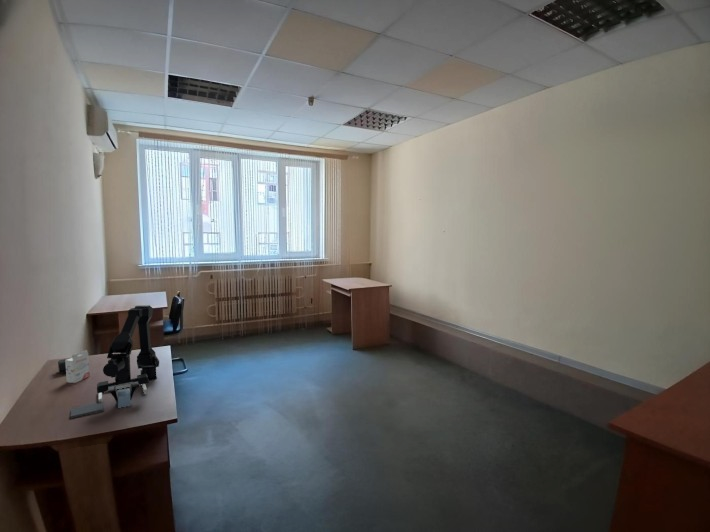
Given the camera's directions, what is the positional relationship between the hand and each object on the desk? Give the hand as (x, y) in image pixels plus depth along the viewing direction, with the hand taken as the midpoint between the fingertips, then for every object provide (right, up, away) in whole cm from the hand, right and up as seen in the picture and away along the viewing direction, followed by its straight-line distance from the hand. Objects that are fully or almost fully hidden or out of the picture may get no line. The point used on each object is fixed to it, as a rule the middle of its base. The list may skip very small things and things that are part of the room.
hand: (124, 401), depth 156 cm
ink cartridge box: (-40, +2, +24) cm, 47 cm away
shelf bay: (-8, 0, +11) cm, 13 cm away
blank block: (0, -1, 0) cm, 1 cm away
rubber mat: (-11, -1, -7) cm, 13 cm away
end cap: (-52, +3, +35) cm, 63 cm away
